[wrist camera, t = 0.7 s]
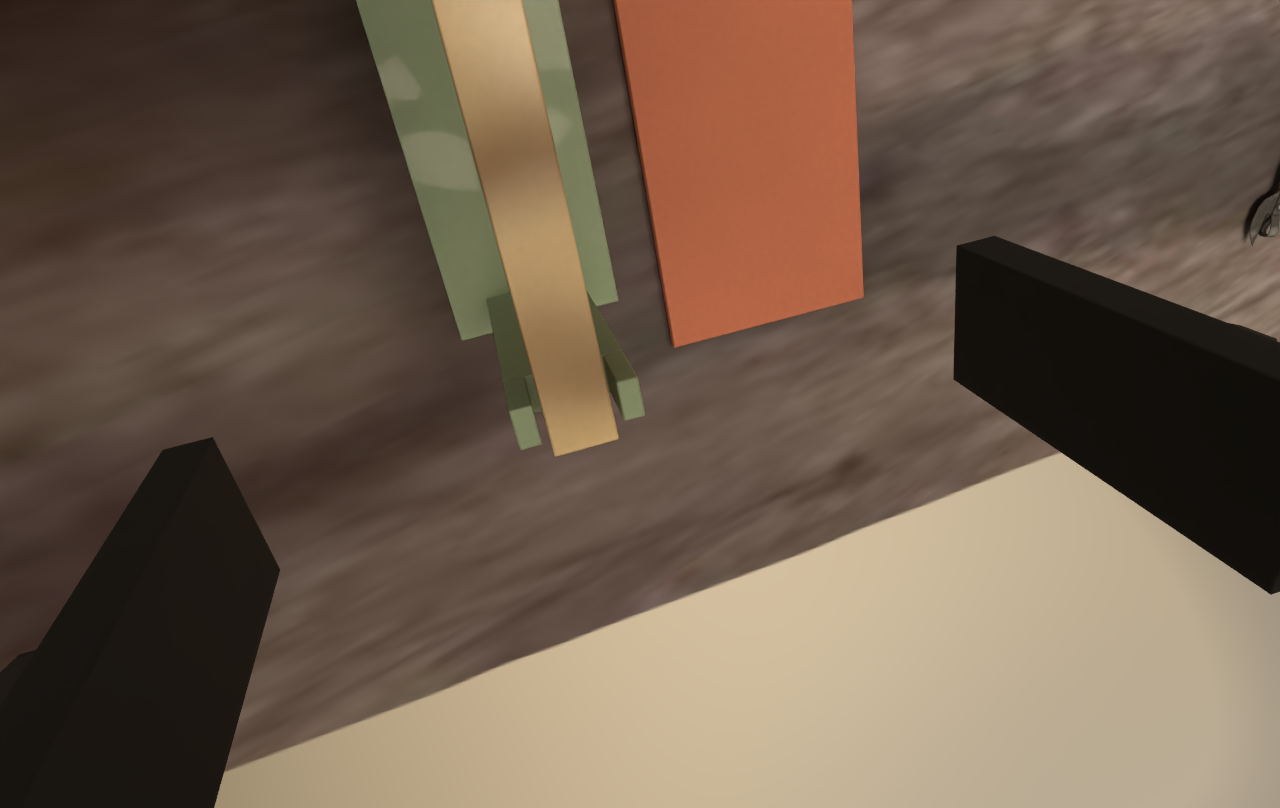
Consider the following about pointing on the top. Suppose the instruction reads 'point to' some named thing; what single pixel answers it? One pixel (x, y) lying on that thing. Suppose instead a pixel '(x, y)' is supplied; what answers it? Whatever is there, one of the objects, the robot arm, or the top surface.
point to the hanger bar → (528, 213)
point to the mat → (746, 156)
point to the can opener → (1273, 206)
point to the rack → (455, 197)
